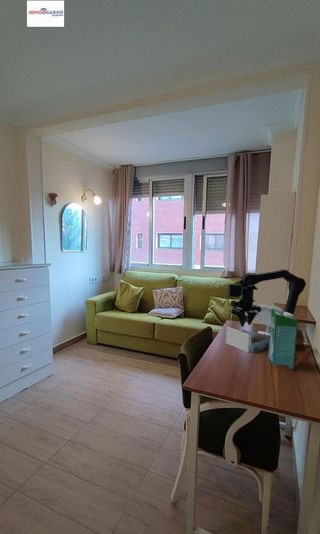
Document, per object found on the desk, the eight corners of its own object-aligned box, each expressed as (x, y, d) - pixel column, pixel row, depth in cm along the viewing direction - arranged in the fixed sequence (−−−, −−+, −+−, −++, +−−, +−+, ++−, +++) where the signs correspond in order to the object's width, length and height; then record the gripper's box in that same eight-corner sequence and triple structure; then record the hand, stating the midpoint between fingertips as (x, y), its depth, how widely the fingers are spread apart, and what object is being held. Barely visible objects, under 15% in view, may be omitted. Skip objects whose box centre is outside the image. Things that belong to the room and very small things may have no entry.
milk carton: (293, 369, 112) (298, 315, 110) (272, 367, 114) (276, 313, 112) (287, 360, 121) (291, 310, 119) (268, 358, 123) (271, 308, 120)
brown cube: (262, 345, 134) (263, 337, 134) (259, 348, 131) (259, 339, 131) (254, 343, 137) (255, 335, 137) (250, 345, 134) (251, 337, 134)
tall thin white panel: (249, 351, 126) (250, 334, 125) (247, 352, 125) (248, 335, 125) (227, 342, 137) (228, 326, 137) (225, 342, 137) (226, 327, 136)
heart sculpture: (253, 332, 159) (255, 305, 157) (254, 330, 163) (256, 303, 161) (280, 337, 151) (282, 308, 149) (281, 335, 155) (283, 306, 154)
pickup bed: (271, 349, 134) (272, 339, 133) (253, 356, 124) (254, 345, 124) (241, 337, 149) (242, 328, 149) (223, 343, 140) (224, 334, 139)
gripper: (245, 293, 145) (243, 319, 146) (223, 296, 134) (222, 324, 135) (262, 296, 136) (260, 324, 137) (241, 300, 125) (239, 330, 126)
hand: (245, 325), depth 134 cm, fingers open, 6 cm apart
